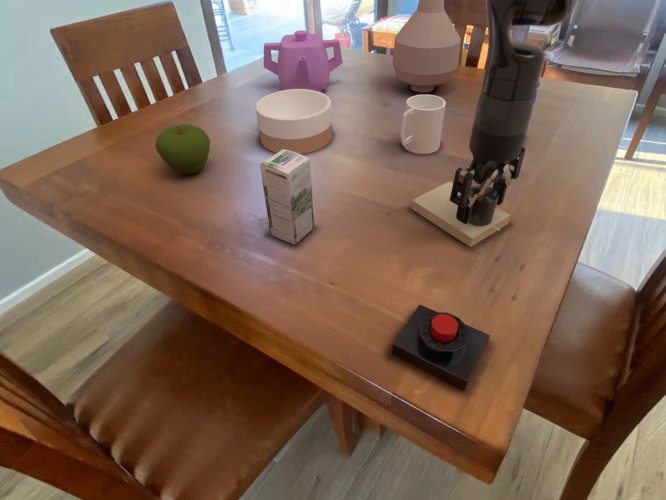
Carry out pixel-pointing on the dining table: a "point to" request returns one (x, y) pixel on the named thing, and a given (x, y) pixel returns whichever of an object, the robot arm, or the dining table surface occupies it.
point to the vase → (426, 47)
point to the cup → (422, 123)
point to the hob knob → (484, 207)
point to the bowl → (294, 120)
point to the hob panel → (444, 215)
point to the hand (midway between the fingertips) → (479, 211)
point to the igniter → (440, 348)
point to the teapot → (303, 60)
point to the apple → (184, 148)
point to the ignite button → (444, 328)
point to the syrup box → (288, 195)
